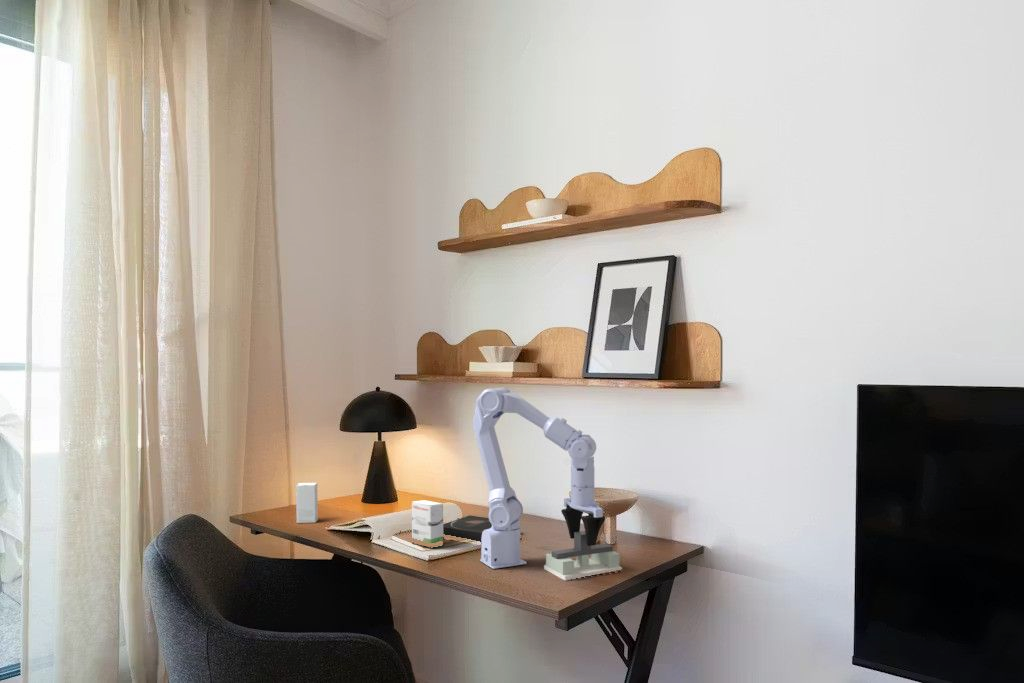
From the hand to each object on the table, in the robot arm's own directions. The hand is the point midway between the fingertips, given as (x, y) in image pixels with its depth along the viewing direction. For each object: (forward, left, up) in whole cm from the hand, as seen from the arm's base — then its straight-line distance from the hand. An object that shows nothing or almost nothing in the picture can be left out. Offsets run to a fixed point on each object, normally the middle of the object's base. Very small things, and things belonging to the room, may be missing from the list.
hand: (582, 541), depth 167 cm
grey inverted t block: (0, 0, -3) cm, 3 cm away
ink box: (-26, +39, -7) cm, 47 cm away
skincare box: (-51, +82, -7) cm, 97 cm away
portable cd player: (-10, +42, -8) cm, 44 cm away
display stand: (0, 0, -7) cm, 7 cm away
